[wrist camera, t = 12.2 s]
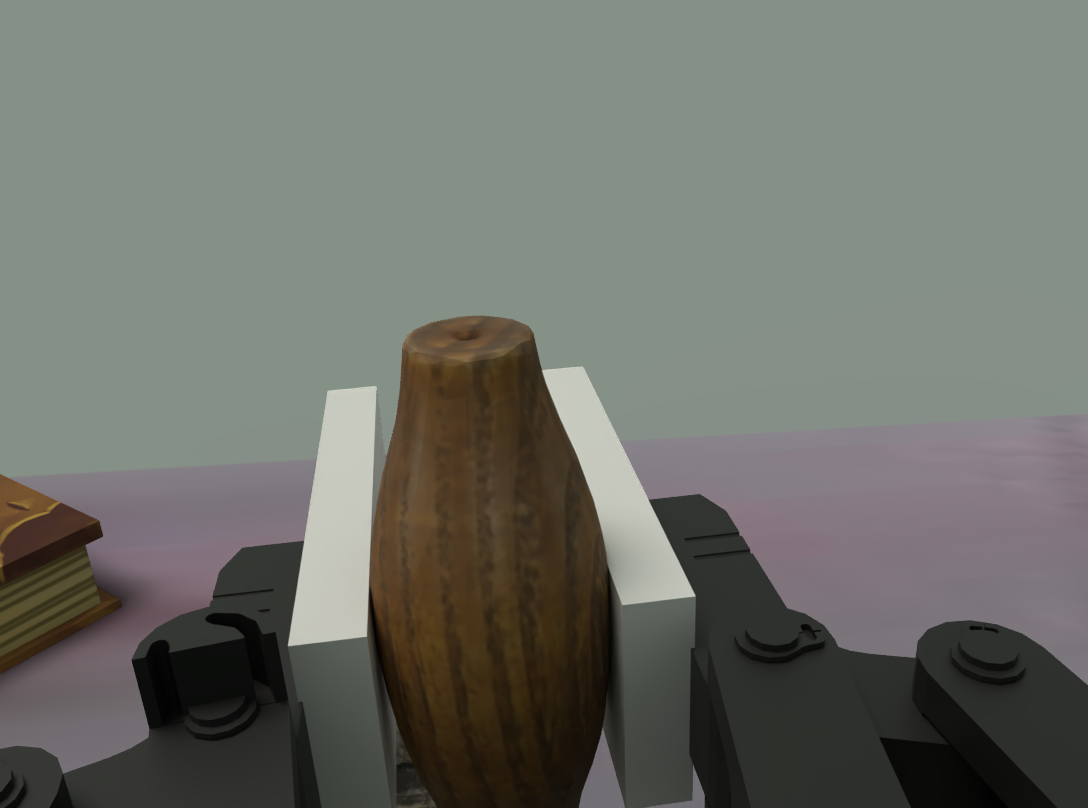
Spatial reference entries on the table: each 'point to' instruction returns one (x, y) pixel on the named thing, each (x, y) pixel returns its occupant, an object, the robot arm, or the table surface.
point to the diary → (44, 573)
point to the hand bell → (489, 575)
